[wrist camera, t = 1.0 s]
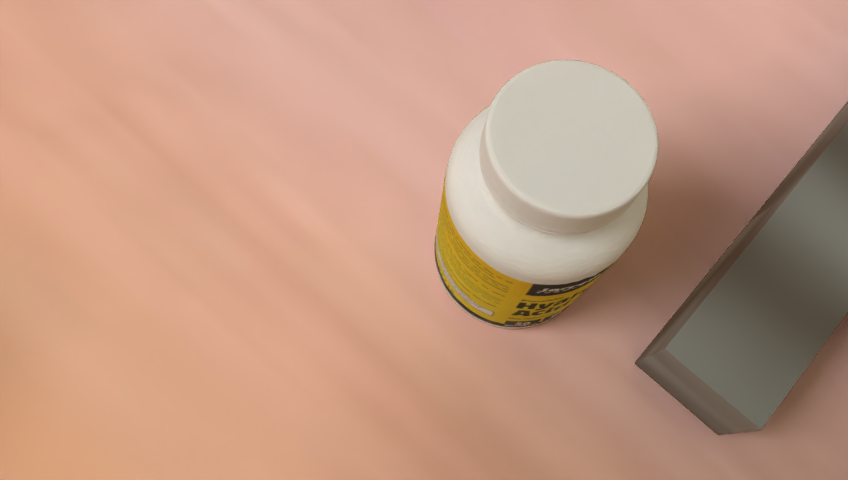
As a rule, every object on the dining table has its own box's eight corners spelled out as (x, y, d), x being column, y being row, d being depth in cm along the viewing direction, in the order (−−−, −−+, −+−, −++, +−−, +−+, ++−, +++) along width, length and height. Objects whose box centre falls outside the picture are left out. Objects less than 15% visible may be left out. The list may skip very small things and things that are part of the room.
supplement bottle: (500, 364, 24) (559, 296, 15) (403, 244, 25) (401, 112, 16) (617, 270, 25) (739, 153, 16) (518, 159, 27) (579, -10, 17)
